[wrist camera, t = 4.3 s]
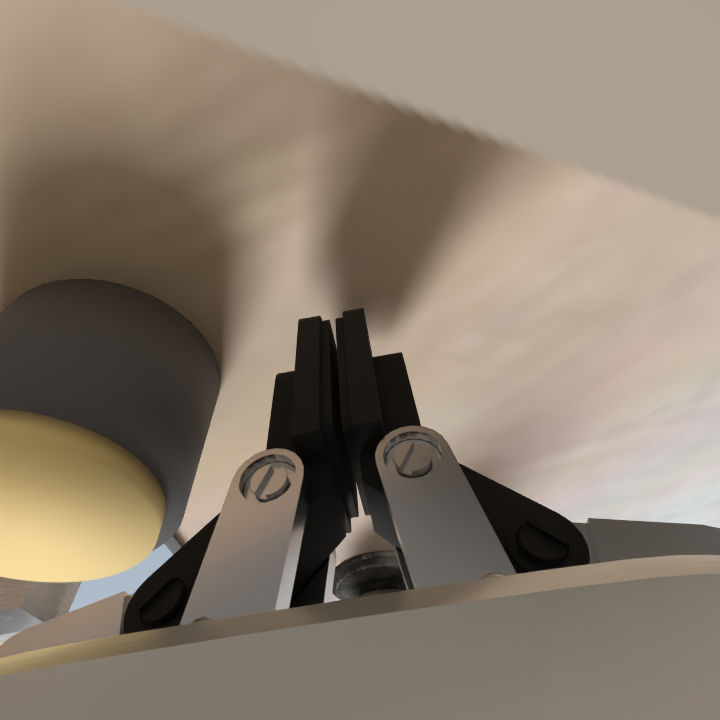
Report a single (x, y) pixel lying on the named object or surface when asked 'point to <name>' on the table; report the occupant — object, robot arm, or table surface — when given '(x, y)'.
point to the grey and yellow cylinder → (97, 428)
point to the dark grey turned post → (368, 576)
